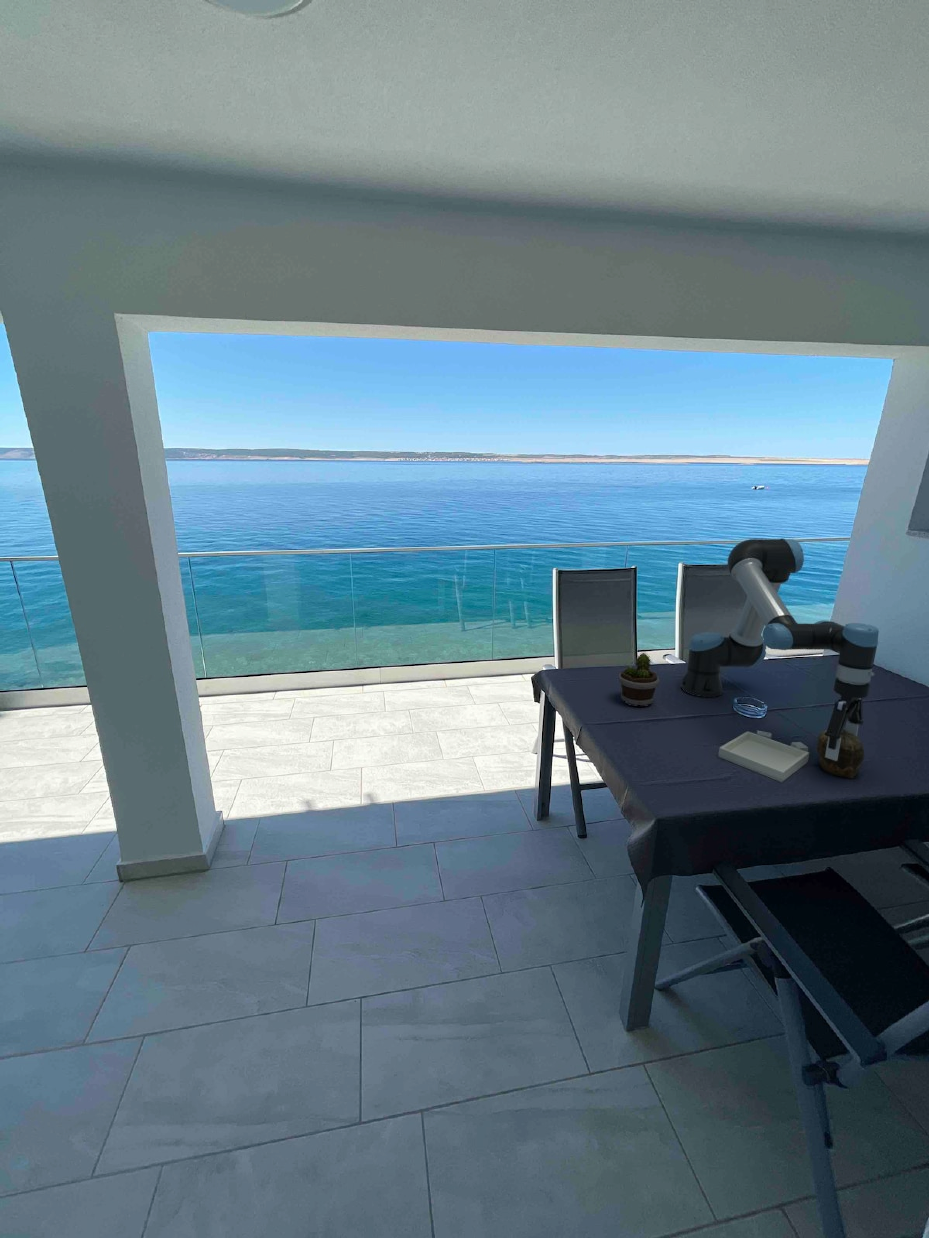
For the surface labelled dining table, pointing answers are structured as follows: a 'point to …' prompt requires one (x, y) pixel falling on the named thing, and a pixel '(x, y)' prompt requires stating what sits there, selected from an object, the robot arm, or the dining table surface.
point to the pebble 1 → (764, 734)
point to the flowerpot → (638, 682)
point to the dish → (764, 756)
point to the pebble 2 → (799, 746)
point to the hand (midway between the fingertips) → (840, 751)
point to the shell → (842, 755)
